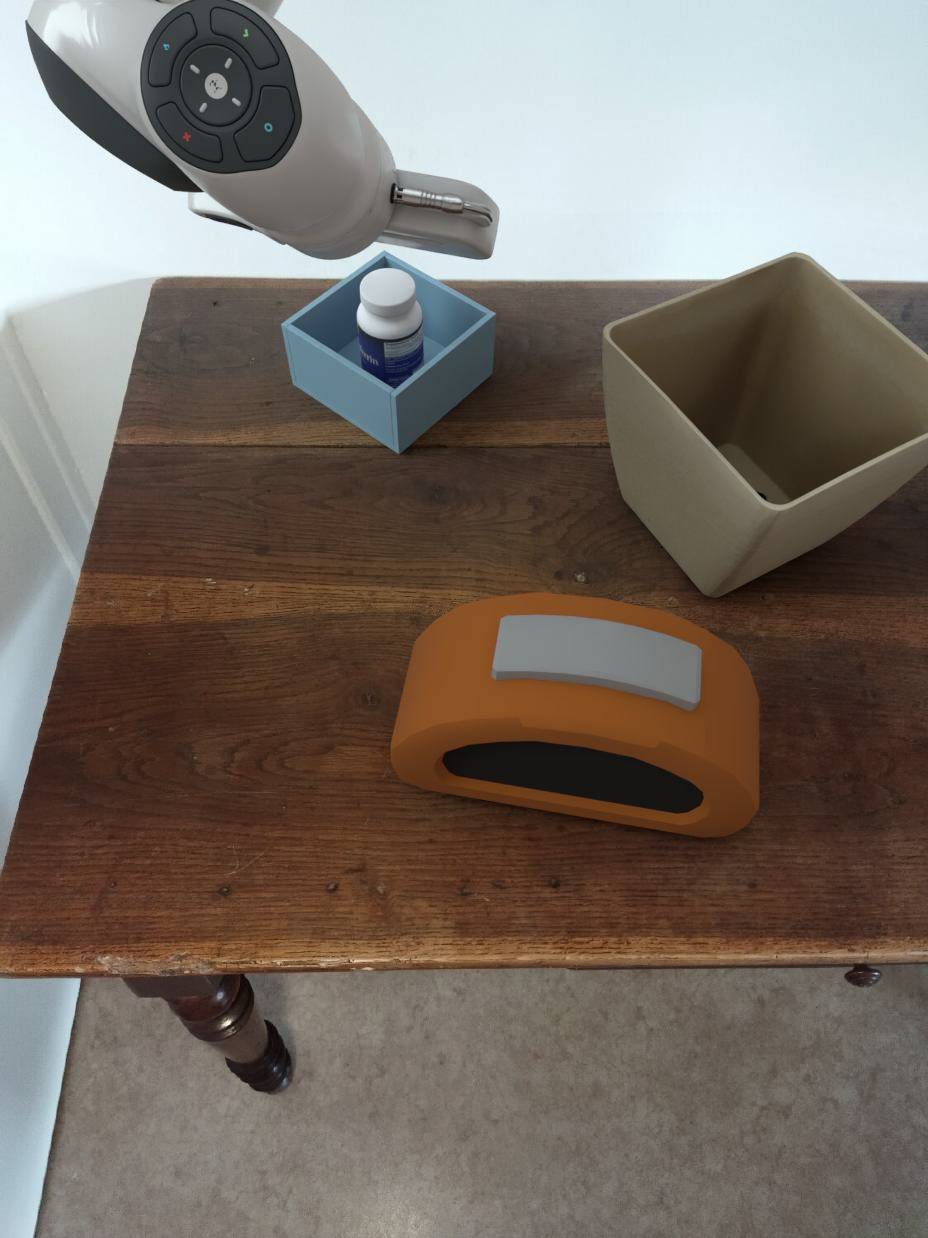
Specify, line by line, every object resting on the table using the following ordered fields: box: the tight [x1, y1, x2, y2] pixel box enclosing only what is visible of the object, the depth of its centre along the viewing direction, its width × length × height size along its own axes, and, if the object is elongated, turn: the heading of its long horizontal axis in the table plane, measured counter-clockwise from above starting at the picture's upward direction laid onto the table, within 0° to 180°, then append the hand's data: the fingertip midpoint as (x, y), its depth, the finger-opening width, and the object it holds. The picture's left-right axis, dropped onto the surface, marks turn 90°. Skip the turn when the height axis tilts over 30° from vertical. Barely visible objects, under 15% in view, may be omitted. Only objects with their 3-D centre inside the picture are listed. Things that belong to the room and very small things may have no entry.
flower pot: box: [601, 251, 928, 599], centre depth 68 cm, size 19×19×17 cm
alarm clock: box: [390, 591, 760, 838], centre depth 56 cm, size 23×9×17 cm, turn 80°
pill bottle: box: [357, 268, 424, 389], centre depth 78 cm, size 6×6×10 cm
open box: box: [280, 250, 497, 455], centre depth 79 cm, size 13×13×7 cm
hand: (376, 226), depth 68 cm, fingers open, 8 cm apart
